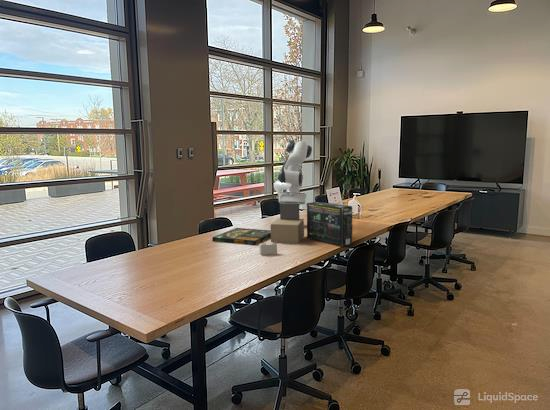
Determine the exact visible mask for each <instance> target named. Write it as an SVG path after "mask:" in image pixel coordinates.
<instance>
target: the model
mask: <svg viewBox="0 0 550 410" xmlns="http://www.w3.org/2000/svg"><path fill="white" fill-rule="evenodd" d="M277 243H278V242H273V244H271V243H270V244H267V243H266V242H261V243H259V255H260V256H266V255H275V254H276V255H277V254H278V244H277Z"/></svg>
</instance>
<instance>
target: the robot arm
mask: <svg viewBox="0 0 550 410" xmlns="http://www.w3.org/2000/svg"><path fill="white" fill-rule="evenodd" d="M285 151H286V152H287V153H288V154H290V155H287V157H285V160H284V162H283V165H282V166H281V169H280V170H279V171H278V175H277V180H276V181H274V183H273V189H274V191H275V192H276V194H277V195H278V203H279V204H280V203H299V207H300V206H301V205H305V204H306V199H307V198H306V197H307V194H306V193H305V192H300V190H301V185H302V184H303V180H304V176H303V174H302V172H300V171H299V170H300V166H301V164H302V163H304V162H305V161H306V159H308V158H310V157H311V155H312V153H313V148H312V146H310V145H308V144H307V143H306V142H305V141H301V140H300V141H295V140H292V139H290V140H288V142H286V144H285ZM278 218H280V215H278Z"/></svg>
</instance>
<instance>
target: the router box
mask: <svg viewBox="0 0 550 410" xmlns="http://www.w3.org/2000/svg"><path fill="white" fill-rule="evenodd" d="M306 239H307V240H313V241H316V242H320V243H325V244H328V245H329V244H330V245H334V246H339V247H346V246H347V247H348V246H349V245H353V206H352V205H344V204H337V203H330V202H329V203H328V202H321V201H314V202H306Z"/></svg>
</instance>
